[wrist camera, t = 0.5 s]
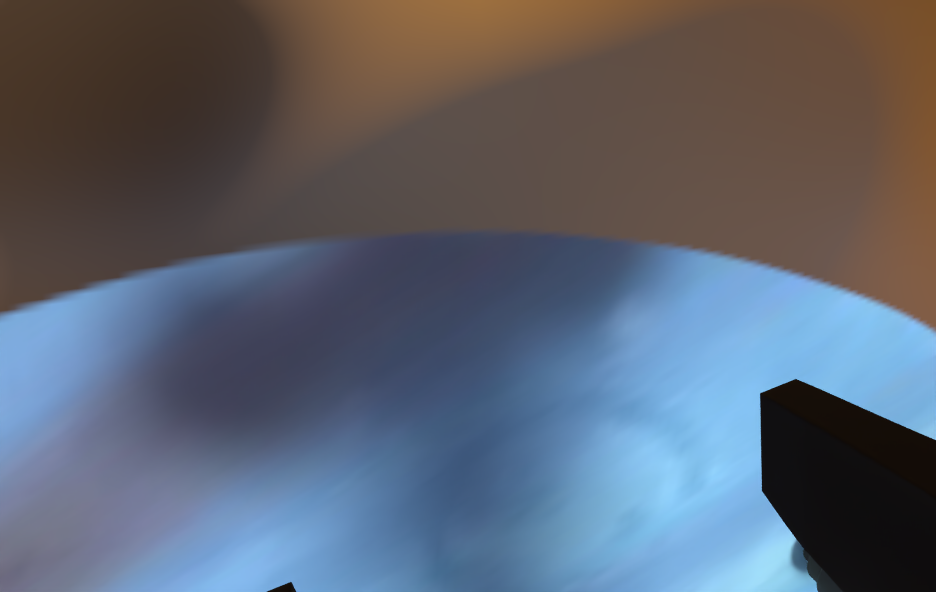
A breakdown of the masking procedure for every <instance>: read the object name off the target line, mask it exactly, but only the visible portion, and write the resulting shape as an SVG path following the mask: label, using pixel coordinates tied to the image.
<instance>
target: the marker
mask: <svg viewBox="0 0 936 592" xmlns="http://www.w3.org/2000/svg"><path fill="white" fill-rule="evenodd" d="M803 555H804V558H805V559H806V560H807V561H808V563H807V570H808V573H809V575H810V576H811V577H812V578H813V579H814V580H815V581H816V582H817V590H818V592H843V591H842V590H841V589H840V588H839V587H838V586H837V585H836V583H835V582H834V581H833V580H832V579H831V578H830V577H829V576H828V575H827V574H826V573H825V571H824V570H823V569H822V568H821V567H820V566H819V565H818V564H817V563H816V562H815V561H814V559H813V558H812V557H811V556H810V555H809V554H808V553H807V552H806V551H805V549H804V550H803Z"/></svg>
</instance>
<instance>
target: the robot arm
mask: <svg viewBox="0 0 936 592" xmlns="http://www.w3.org/2000/svg"><path fill="white" fill-rule="evenodd" d="M760 408H761V463H762V492H763V493H764V494H765V496H766V497H767V499H768V500H769V502H770V503H771V504H772V506H773V507H774V509H775V510H776V512H777V513H778V514H779V516H780V517H781V519H782V520H783V522H784V523H785V524H786V526H787V527H788V528H789V530H790V531H791V532H792V534H793V535H794V536H795V538H796V539H797V540H798V542H799V543H800V544H801V546H802V547H803V548H804V549H805V551H806V552H807V553H808V554H809V555H810V556H811V557H812V558H813V559H814V561H815V562H816V563H817V564H818V565H819V566H820V567H821V568H822V569H823V570H824V571H825V573H826V574H827V575H828V576H829V577H830V578H831V579H832V580H833V581H834V582H835V583H836V585H837V586H838V587H839V588H840V589H841V590H842V591H843V592H936V440H934V439H932V438H929V437H927V436H925V435H922V434H920V433H918V432H915V431H913V430H911V429H908V428H906V427H904V426H901V425H899V424H897V423H895V422H892V421H890V420H888V419H886V418H883V417H881V416H879V415H877V414H874V413H872V412H870V411H868V410H865V409H863V408H861V407H859V406H856V405H854V404H852V403H850V402H847V401H845V400H843V399H841V398H839V397H836V396H834V395H832V394H830V393H827V392H825V391H823V390H820V389H818V388H816V387H814V386H811V385H809V384H807V383H804V382H802V381H799V380H797V379H795V380H792V381H790V382H787V383H785V384H782V385H780V386H777V387H775V388H772V389H770V390H768V391H765V392H763V393H760ZM267 592H296V590H295V588H294V586H293V584H292V582H290V583H287V584H285V585H282V586H280V587H277V588H275V589H272V590H270V591H267Z"/></svg>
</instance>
